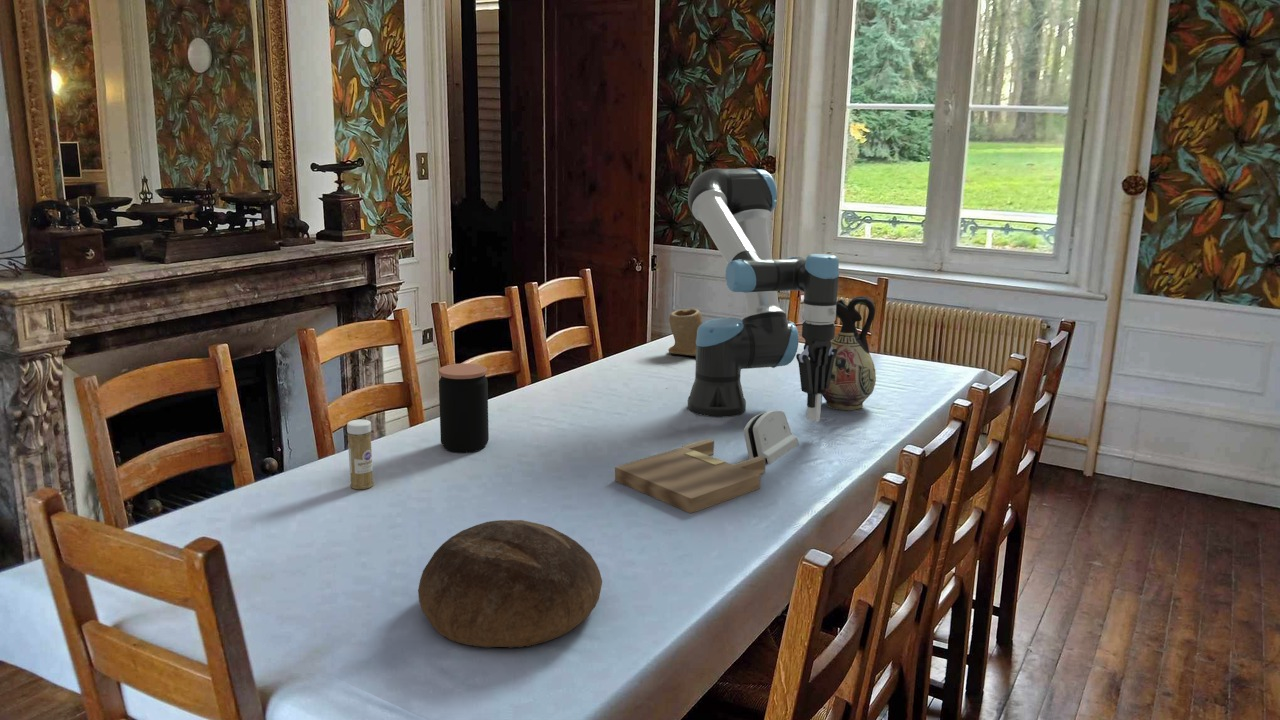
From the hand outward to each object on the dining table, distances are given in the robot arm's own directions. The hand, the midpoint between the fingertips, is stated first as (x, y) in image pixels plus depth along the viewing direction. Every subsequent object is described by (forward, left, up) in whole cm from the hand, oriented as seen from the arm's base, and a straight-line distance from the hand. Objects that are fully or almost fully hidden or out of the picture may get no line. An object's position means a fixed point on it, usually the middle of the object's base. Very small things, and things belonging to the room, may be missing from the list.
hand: (813, 419), depth 225 cm
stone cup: (-76, +36, -5) cm, 85 cm away
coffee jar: (-46, -67, -5) cm, 82 cm away
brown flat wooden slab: (+2, -41, -4) cm, 41 cm away
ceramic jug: (-10, +28, -5) cm, 30 cm away
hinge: (0, -15, -5) cm, 16 cm away
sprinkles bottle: (-38, -96, -5) cm, 103 cm away
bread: (+22, -102, -5) cm, 104 cm away
